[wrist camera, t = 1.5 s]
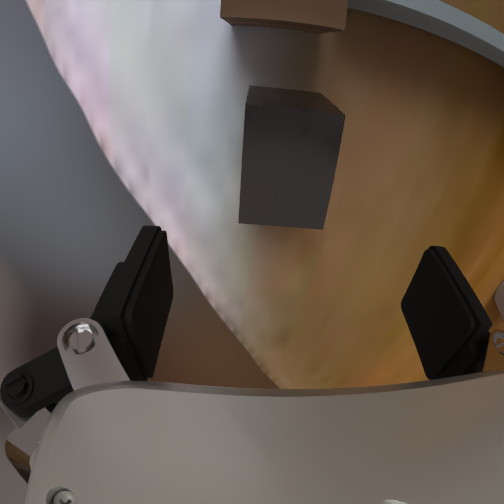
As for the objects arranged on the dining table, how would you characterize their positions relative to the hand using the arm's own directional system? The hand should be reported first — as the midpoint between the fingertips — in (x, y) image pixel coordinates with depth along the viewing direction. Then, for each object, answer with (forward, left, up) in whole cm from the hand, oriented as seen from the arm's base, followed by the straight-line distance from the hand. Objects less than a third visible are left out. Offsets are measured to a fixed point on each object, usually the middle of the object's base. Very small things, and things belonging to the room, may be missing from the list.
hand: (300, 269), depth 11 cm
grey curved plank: (-12, +11, -14) cm, 21 cm away
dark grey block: (0, 0, -14) cm, 14 cm away
